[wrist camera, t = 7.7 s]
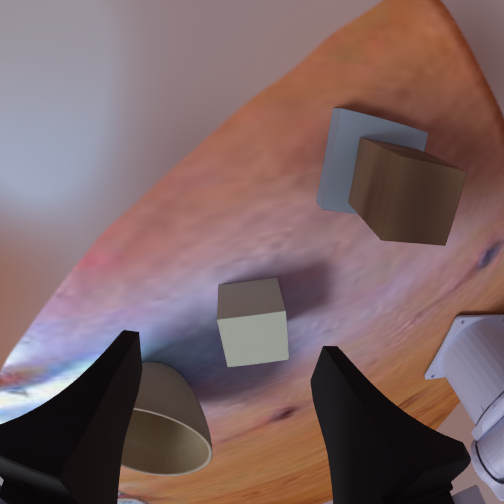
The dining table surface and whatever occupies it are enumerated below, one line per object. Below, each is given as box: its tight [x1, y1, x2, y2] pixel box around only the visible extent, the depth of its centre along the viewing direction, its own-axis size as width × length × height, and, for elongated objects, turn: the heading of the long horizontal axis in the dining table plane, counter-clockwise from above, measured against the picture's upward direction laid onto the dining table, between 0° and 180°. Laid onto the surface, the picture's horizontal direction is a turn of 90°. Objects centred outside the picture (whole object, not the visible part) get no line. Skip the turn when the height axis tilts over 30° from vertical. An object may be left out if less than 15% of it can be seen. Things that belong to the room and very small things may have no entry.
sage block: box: [217, 277, 289, 367], centre depth 21 cm, size 4×4×4 cm
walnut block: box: [348, 137, 466, 246], centre depth 16 cm, size 4×4×5 cm
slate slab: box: [316, 108, 428, 214], centre depth 19 cm, size 6×6×2 cm
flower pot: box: [121, 362, 212, 476], centre depth 23 cm, size 10×10×7 cm
